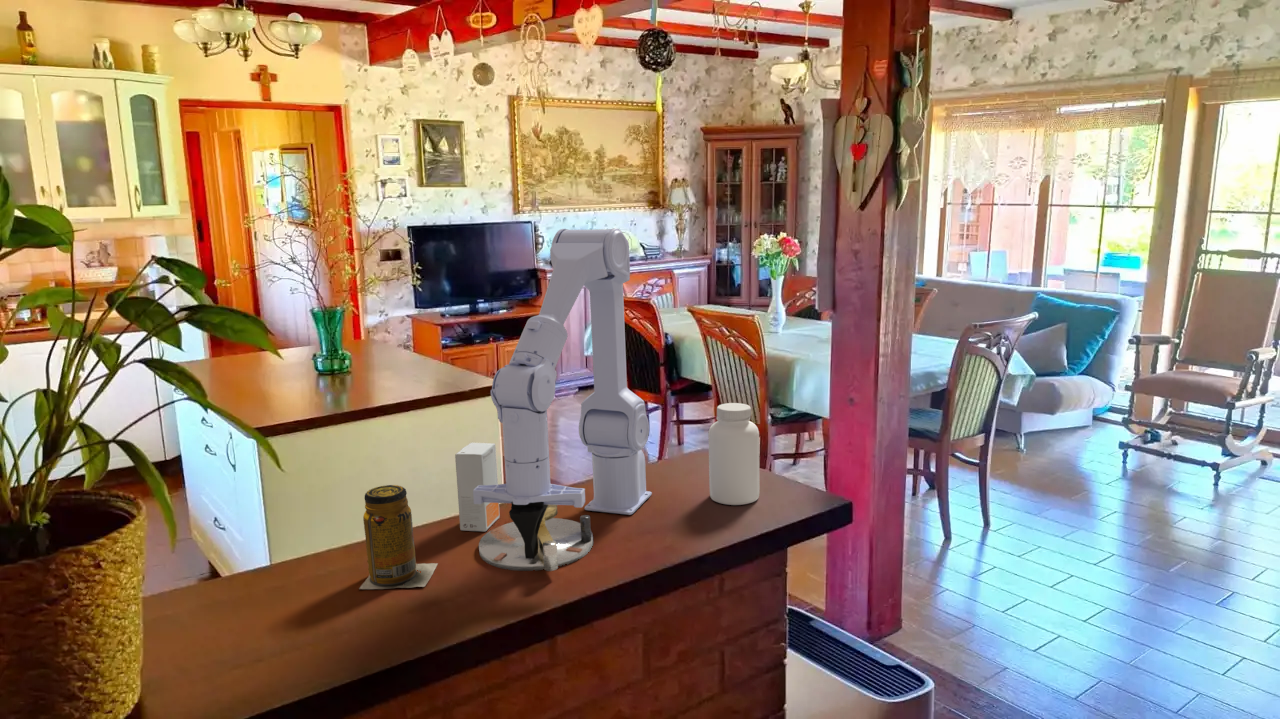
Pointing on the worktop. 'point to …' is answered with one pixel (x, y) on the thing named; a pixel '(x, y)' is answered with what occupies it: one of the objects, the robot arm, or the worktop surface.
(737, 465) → the pill bottle
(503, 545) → the grey round base plate
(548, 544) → the brass latch lever
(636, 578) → the worktop surface
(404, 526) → the condiment
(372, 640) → the worktop surface
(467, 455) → the skincare box
